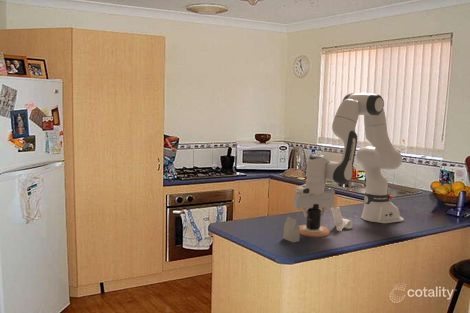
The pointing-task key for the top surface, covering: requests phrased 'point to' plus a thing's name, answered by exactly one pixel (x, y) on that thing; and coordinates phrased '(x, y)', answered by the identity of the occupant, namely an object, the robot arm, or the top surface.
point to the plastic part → (340, 220)
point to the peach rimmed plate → (314, 231)
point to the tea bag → (291, 230)
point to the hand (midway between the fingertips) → (313, 216)
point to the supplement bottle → (313, 217)
